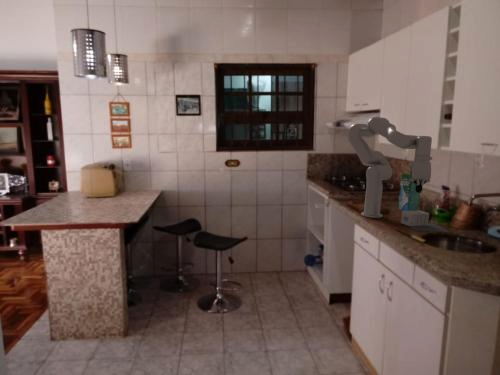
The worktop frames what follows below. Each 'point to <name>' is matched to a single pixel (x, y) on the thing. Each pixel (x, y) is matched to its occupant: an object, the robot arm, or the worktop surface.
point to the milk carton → (408, 195)
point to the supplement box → (415, 218)
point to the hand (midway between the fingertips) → (418, 192)
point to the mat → (429, 228)
